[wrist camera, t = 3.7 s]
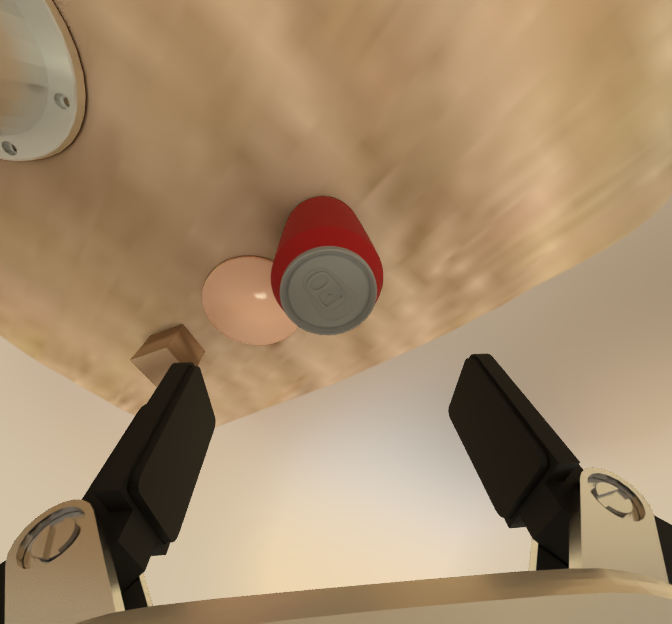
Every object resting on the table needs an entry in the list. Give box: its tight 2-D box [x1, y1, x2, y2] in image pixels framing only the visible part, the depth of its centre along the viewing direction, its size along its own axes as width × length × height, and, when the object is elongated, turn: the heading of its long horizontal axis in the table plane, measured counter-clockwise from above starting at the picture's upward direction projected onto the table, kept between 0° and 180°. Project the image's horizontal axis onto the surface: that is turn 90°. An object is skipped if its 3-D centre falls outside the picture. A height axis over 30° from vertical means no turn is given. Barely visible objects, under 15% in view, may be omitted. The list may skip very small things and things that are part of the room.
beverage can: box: [271, 196, 383, 335], centre depth 20 cm, size 7×7×12 cm
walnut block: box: [130, 324, 205, 387], centre depth 29 cm, size 4×4×4 cm
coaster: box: [202, 256, 298, 345], centre depth 28 cm, size 10×10×1 cm
